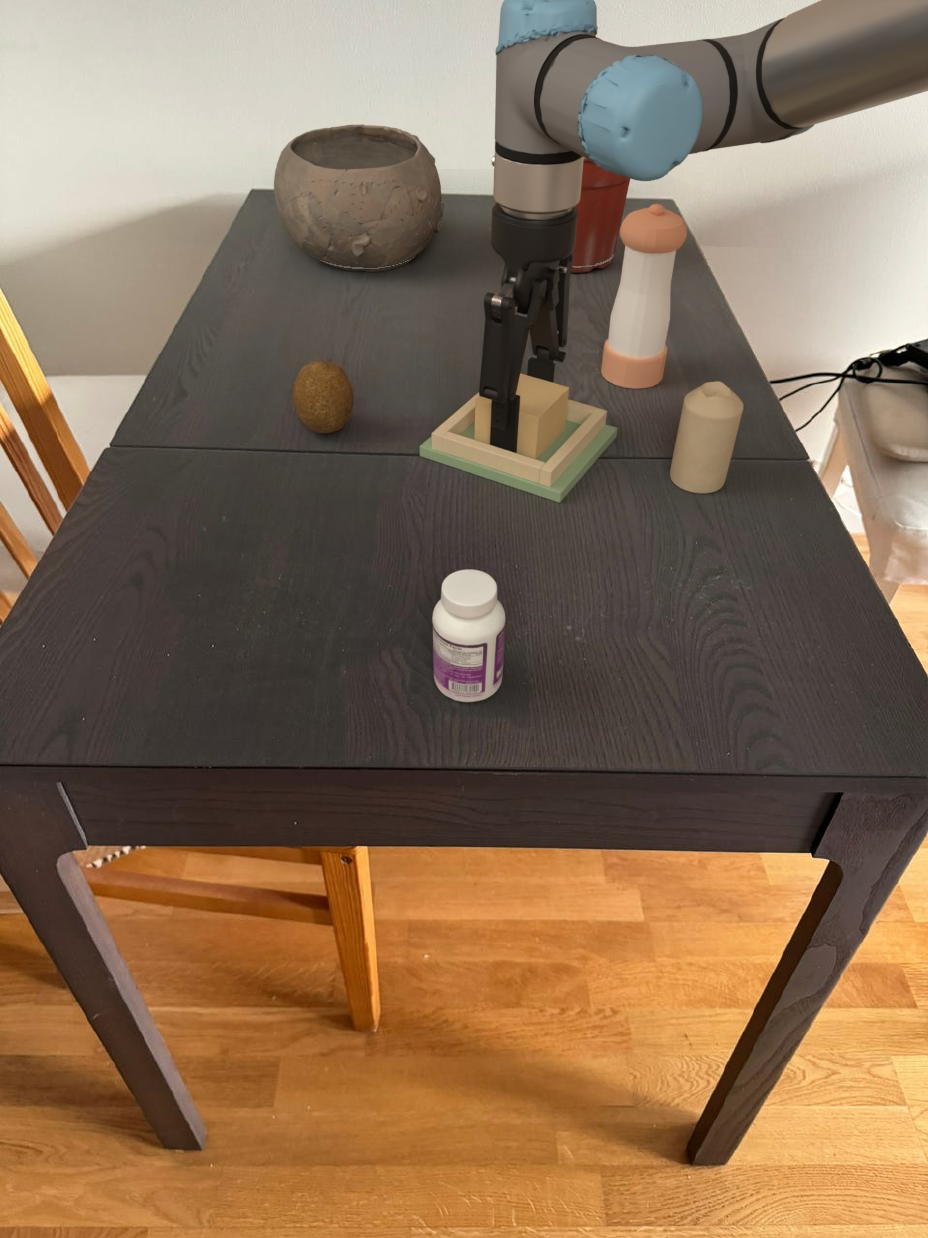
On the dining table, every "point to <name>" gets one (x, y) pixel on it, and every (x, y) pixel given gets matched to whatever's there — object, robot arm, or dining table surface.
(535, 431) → the tan rectangular block
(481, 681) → the pill bottle
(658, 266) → the pepper shaker
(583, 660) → the dining table surface
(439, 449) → the base pad
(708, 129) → the robot arm
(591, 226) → the flower pot
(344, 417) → the fruit
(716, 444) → the candle
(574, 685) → the dining table surface
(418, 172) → the bowl
